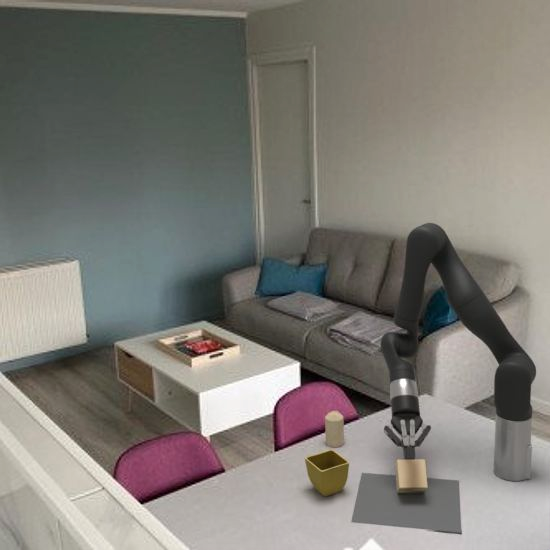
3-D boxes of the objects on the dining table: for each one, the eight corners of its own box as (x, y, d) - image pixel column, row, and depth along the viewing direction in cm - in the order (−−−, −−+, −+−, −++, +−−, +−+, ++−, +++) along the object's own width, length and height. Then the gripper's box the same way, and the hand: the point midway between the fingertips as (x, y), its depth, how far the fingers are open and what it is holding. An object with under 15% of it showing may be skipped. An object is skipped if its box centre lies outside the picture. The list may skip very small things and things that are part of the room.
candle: (342, 448, 207) (342, 416, 205) (324, 446, 208) (323, 416, 206) (344, 439, 212) (344, 409, 210) (327, 438, 213) (326, 408, 211)
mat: (458, 481, 186) (458, 480, 186) (461, 534, 163) (461, 532, 163) (361, 473, 192) (361, 472, 192) (351, 523, 169) (351, 522, 169)
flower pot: (322, 503, 178) (321, 471, 176) (305, 487, 186) (304, 457, 184) (350, 493, 182) (350, 462, 180) (332, 478, 190) (332, 448, 188)
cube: (421, 465, 184) (424, 459, 178) (424, 493, 180) (427, 487, 174) (395, 466, 184) (397, 459, 178) (397, 493, 181) (399, 487, 175)
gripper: (380, 393, 187) (385, 457, 177) (430, 393, 186) (437, 456, 176) (379, 404, 193) (383, 466, 183) (427, 404, 192) (434, 465, 183)
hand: (410, 461), depth 180 cm, fingers closed
